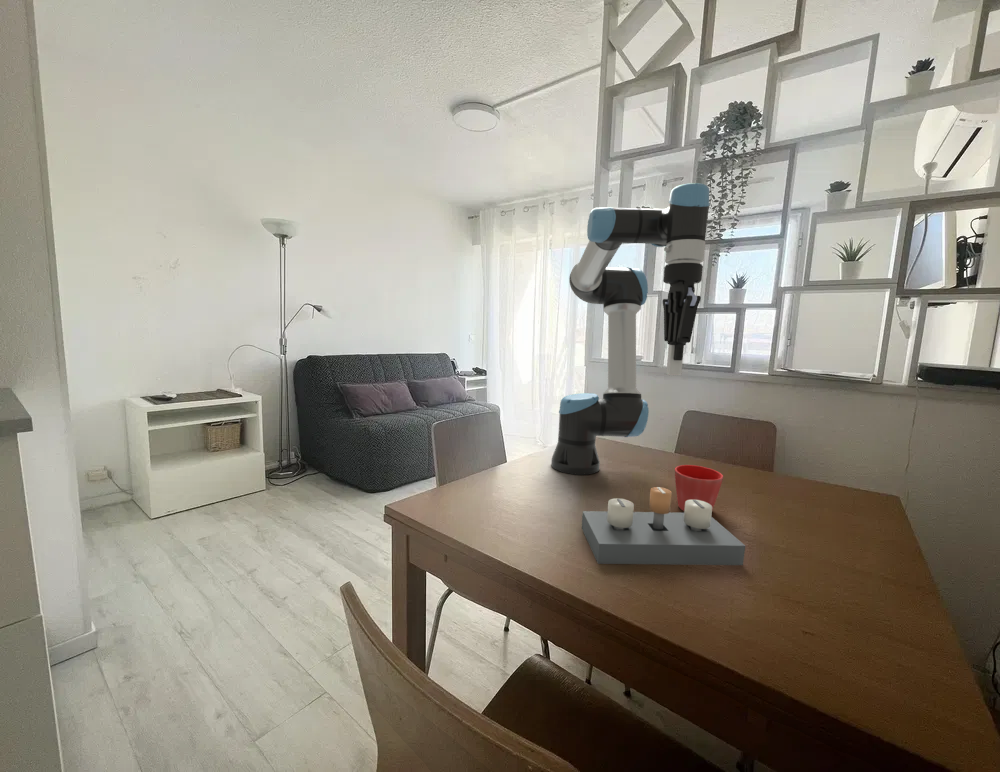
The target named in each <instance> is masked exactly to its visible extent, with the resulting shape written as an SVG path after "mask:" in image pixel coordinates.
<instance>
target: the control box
mask: <svg viewBox="0 0 1000 772" xmlns="http://www.w3.org/2000/svg"><path fill="white" fill-rule="evenodd" d="M607 514H608V510H607V511H599V510H598V511H597V510H595V511H591V510H582V515H581V517H582V518H581V530H582V533H583V534H584V536H585V539H586V541H587V543H588V546H589V547H590V550H591V552H592V554H593V556H594V558H595V560H596V561H595V562H596V563H597V564H598V565H599V564H606V565H607V564H608V565H609V564H610V565H615V564H617V565H677V566H680V565H682V566H683V565H691V566H692V565H693V566H695V565H696V566H704V565H705V566H744V561H745V554H746V553H745V552H746V551H745V550H746V545H745V544H744V543H743V542H742V541H741V540H739V539H738V537H736V536H735V535H733V534H732V533H731V532H730V530H728V529H726V528H725V527H724V526H723V525H722V524H721V523H719V522H718V520H716V519H715V518H714V517H712V516H711V524H710V527H709V528H707V529H702V530H701V531H691V526H689V525H687V524H685V523H684V512H673V511H672V512H671V511H670V512H669V513H668V514H664V523H663V529H655V528H654V527H653V517H654V512H653V511H633V523H632V526H631V527H627V528H624V530H614V526H613V525H611V524H609V523H608V522H607Z"/></svg>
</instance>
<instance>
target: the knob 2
mask: <svg viewBox="0 0 1000 772" xmlns="http://www.w3.org/2000/svg"><path fill="white" fill-rule="evenodd" d="M712 512H713V510H712V506H711V505H710V504H709V503H707V502H704V501H700V500H687V501H685V510H684V511H683V513H684V523H685V524H687V525H689V526H691V531H701V530H702V529H707V528H709V527H710V524H711V517H712Z"/></svg>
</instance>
